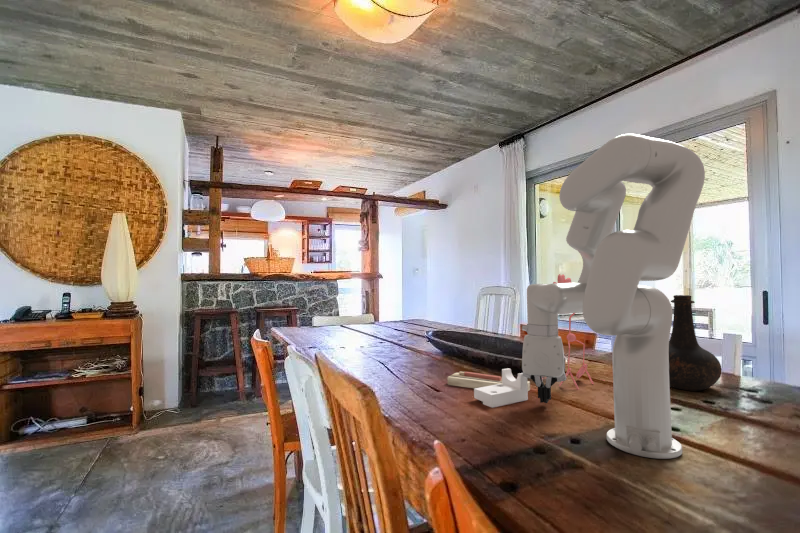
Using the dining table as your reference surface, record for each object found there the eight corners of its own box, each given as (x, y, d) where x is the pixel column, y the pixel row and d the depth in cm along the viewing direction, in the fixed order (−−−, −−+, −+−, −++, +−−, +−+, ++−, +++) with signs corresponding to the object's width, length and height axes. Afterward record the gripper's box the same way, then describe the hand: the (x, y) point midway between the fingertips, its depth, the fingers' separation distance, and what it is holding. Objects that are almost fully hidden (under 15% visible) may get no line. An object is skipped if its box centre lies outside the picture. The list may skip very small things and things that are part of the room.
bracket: (509, 394, 111) (508, 368, 111) (527, 400, 105) (527, 373, 105) (474, 401, 105) (473, 373, 105) (492, 408, 99) (491, 379, 99)
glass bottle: (637, 379, 125) (633, 294, 126) (692, 379, 125) (689, 293, 126) (673, 395, 107) (669, 296, 109) (739, 395, 107) (734, 295, 108)
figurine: (608, 380, 124) (602, 273, 126) (566, 395, 108) (560, 273, 110) (564, 372, 136) (559, 275, 138) (520, 385, 121) (515, 275, 123)
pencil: (501, 379, 117) (501, 376, 117) (499, 380, 116) (499, 377, 116) (460, 373, 125) (460, 370, 125) (458, 374, 124) (458, 371, 124)
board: (524, 395, 109) (524, 386, 109) (447, 384, 121) (447, 376, 121) (530, 389, 115) (529, 381, 115) (456, 379, 127) (456, 372, 127)
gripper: (510, 330, 100) (511, 401, 100) (571, 334, 93) (574, 410, 92) (517, 327, 107) (519, 393, 106) (575, 330, 99) (577, 402, 98)
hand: (544, 401), depth 99 cm, fingers closed
